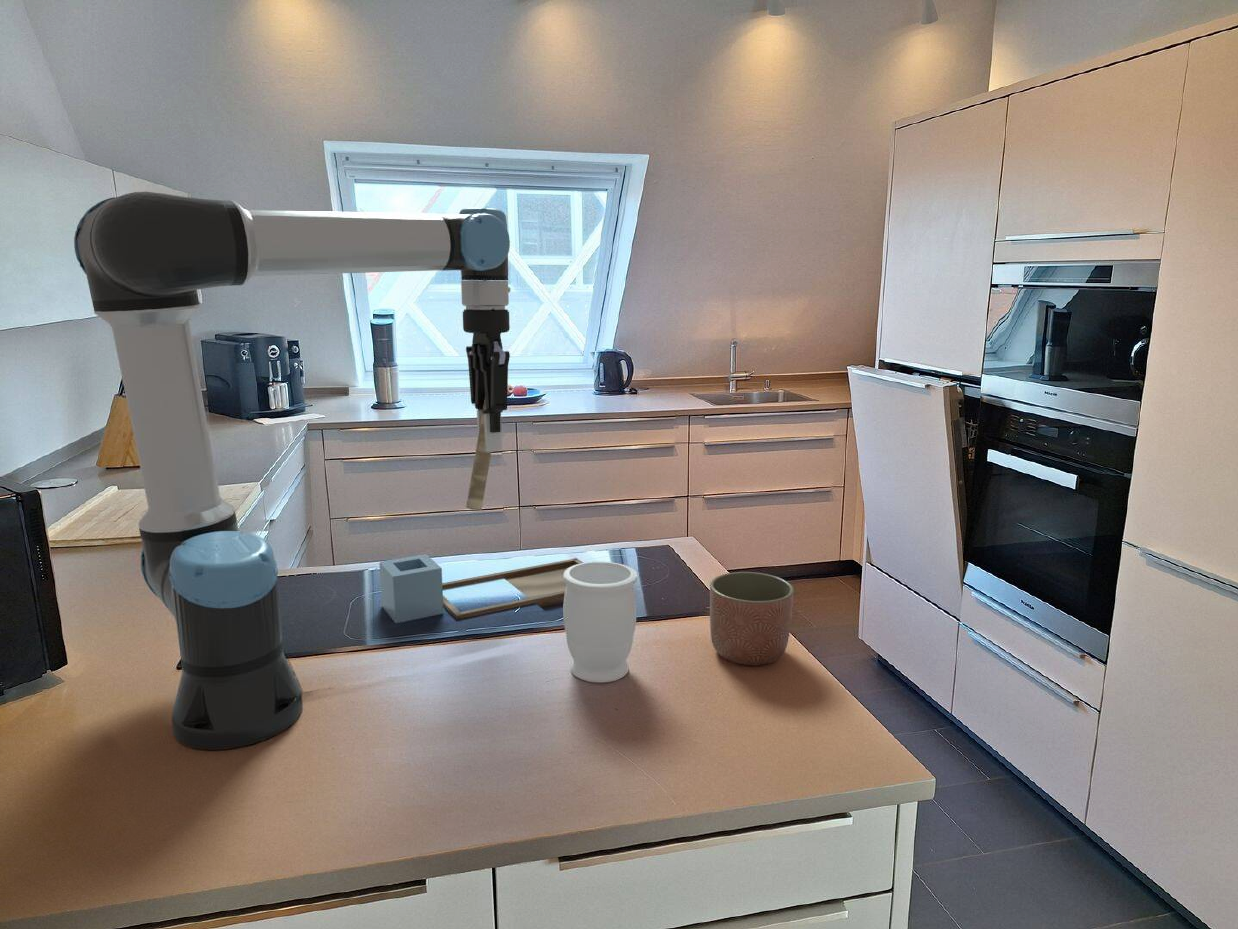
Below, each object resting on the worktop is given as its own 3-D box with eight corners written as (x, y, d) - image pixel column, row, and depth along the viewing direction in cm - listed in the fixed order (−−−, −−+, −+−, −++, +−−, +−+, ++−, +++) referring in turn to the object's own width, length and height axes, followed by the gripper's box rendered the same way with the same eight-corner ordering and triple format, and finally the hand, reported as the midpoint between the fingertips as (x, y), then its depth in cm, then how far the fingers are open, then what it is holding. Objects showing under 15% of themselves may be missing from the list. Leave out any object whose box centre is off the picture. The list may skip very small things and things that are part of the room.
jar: (650, 670, 119) (652, 572, 116) (600, 695, 112) (601, 592, 108) (598, 647, 126) (598, 555, 123) (548, 670, 119) (547, 572, 115)
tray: (615, 591, 149) (615, 582, 148) (456, 625, 134) (456, 615, 133) (576, 566, 161) (576, 558, 161) (427, 595, 146) (427, 586, 146)
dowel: (508, 506, 141) (503, 390, 136) (469, 512, 138) (463, 394, 133) (502, 503, 143) (497, 388, 139) (464, 509, 140) (458, 392, 135)
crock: (443, 619, 136) (441, 568, 134) (395, 629, 132) (392, 576, 130) (428, 603, 143) (426, 554, 141) (382, 612, 139) (379, 561, 137)
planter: (742, 680, 117) (745, 608, 114) (691, 646, 127) (693, 580, 124) (807, 660, 123) (811, 592, 120) (753, 630, 133) (757, 566, 131)
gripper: (527, 309, 129) (529, 455, 134) (489, 305, 142) (493, 439, 147) (482, 310, 125) (486, 460, 130) (447, 306, 138) (452, 443, 143)
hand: (489, 448), depth 139 cm, fingers closed on dowel, 2 cm apart
